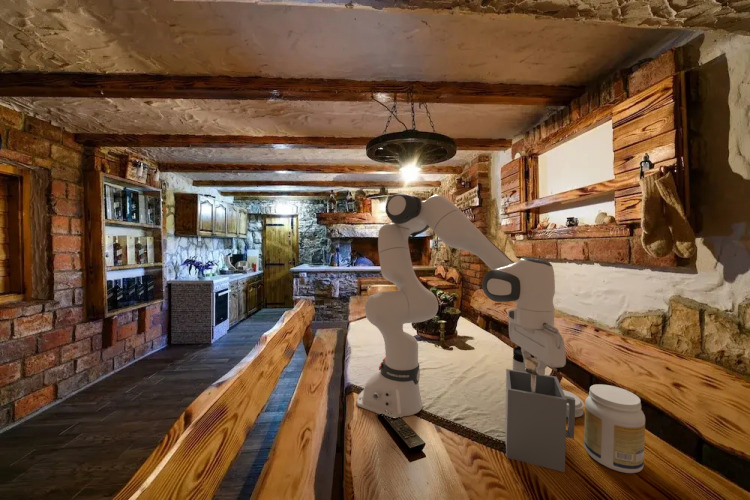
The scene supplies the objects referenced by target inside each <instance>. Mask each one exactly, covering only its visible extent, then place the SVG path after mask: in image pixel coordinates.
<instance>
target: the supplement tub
mask: <svg viewBox="0 0 750 500" xmlns="http://www.w3.org/2000/svg"><path fill="white" fill-rule="evenodd" d="M641 402H642V401H641V398H640V397H639V396H638V395H636V394H635V393H633V392H631V391H630V390H628V389H625V388H622V387H618V386H614V385H609V384H604V383H603V384H602V383H601V384H600V383H599V384H597V383H596V384H593V385H591V386H590V387H589V392H588V396H586V398H585V401H584V433H583V434H584V437H583V439H584V441H583V444H584V449H585V450H586V453H588V455H589V456H590V457H591V458H592V459H593V460H595V461H596V462H598V463H599V464H601V465H603V466H604V467H607V468H608V469H610V470H613V471H616V472H620V473H625V474H636V473H639V472H641V471H642V470H643V468H644V466H645V441H646V440H645V438H646V436H645V435H646V433H645V432H646V415H645V414H644V411H643V410H642V403H641Z"/></svg>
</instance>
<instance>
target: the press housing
mask: <svg viewBox="0 0 750 500" xmlns="http://www.w3.org/2000/svg"><path fill="white" fill-rule="evenodd" d="M505 371H506V372H505V411H504V413H505V416H504V417H505V418H504V429H505V430H504V434H505V435H506V437H505V455H506V459H507V458H508V459H512V460H515V461H518V462H523V463H527V464H531V465H534V466H539V467H542V468H547V469H550V470H554V471H558V472H562V473H566V470H565V469H566V444H567V443H566V441H567V439H566V438H568V439H573V440H574V439H575V426H576V425H575V423H576V422H575V421H576V420H575V419H576V417H575V398H573V397H567V396H565V395H564V392H563V390H564V389H563V388H562V386H561V383H560V380H559V378H558V377H557V376H553V375H548V374H545V375H536V393H533V392H531V374H530V373H528V372H523V371H516V370H513V369H508V368H506V370H505ZM567 403H569V404H568V417H566V413H567Z"/></svg>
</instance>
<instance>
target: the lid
mask: <svg viewBox="0 0 750 500" xmlns="http://www.w3.org/2000/svg"><path fill="white" fill-rule="evenodd" d="M562 390H563V392H564V395H565V396H567V397H573V398H575V418H578V417H582V416H583V415H584V413H585V410H584V408H585V402H584V401H583V400H582V399H581V398H579V396H578V395H576V394H575V393H573V392H570V391H567V390H565V389H562ZM568 404H569V403H567V413H566V418H568Z"/></svg>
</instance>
